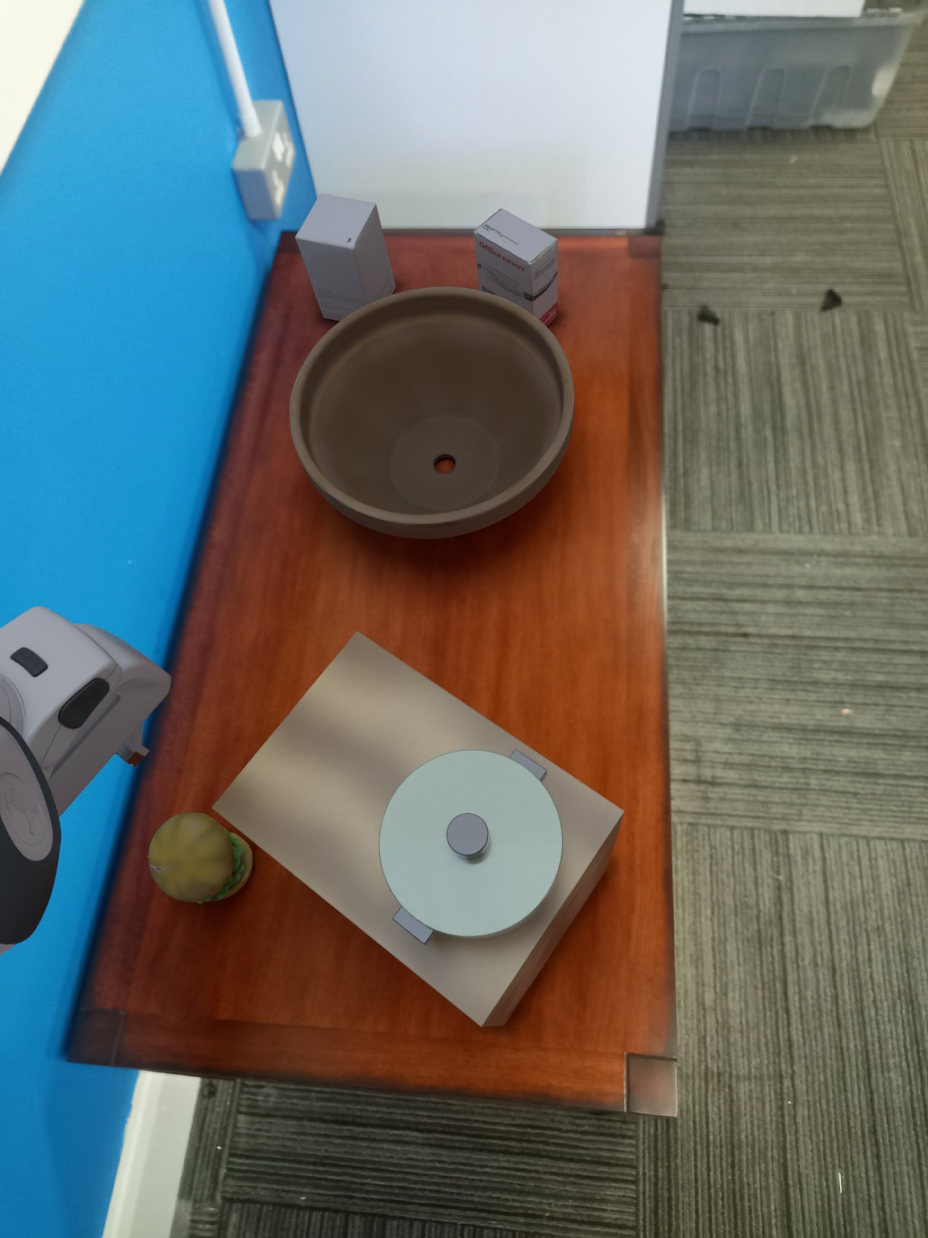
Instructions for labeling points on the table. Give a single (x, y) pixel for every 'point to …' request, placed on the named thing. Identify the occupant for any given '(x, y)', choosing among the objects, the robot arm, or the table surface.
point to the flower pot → (433, 411)
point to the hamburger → (198, 859)
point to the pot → (470, 845)
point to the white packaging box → (345, 255)
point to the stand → (358, 796)
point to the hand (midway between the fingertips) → (86, 809)
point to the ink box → (518, 264)
